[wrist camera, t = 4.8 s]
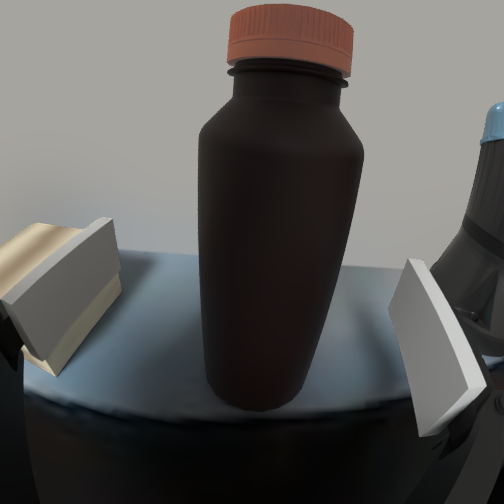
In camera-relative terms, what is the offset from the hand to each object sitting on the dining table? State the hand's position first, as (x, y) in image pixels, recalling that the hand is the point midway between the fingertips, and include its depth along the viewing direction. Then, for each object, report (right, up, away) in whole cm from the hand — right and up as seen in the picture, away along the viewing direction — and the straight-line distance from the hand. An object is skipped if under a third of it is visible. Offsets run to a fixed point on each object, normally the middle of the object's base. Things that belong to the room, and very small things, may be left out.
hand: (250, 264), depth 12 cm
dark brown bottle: (0, -8, +7) cm, 10 cm away
